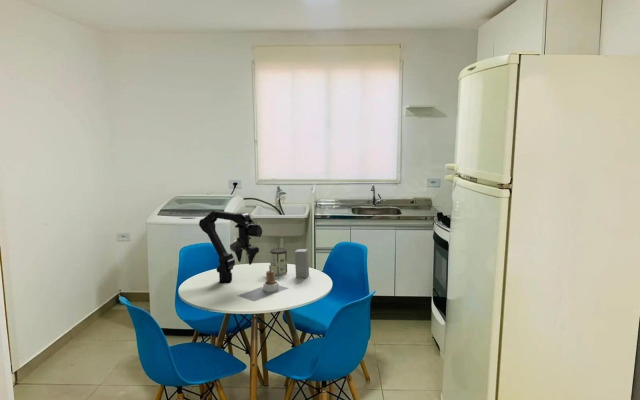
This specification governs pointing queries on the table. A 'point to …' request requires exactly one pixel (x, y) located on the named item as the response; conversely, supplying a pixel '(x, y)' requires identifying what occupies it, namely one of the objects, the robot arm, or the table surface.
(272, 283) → the brown tall cylinder
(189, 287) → the table surface
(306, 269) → the skincare box
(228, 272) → the robot arm
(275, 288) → the tool board
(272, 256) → the coffee can
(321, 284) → the table surface
